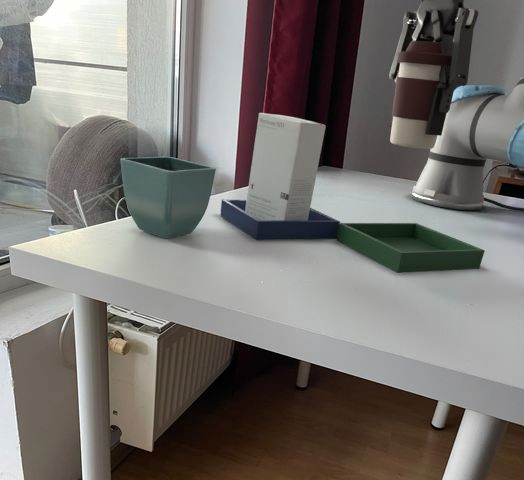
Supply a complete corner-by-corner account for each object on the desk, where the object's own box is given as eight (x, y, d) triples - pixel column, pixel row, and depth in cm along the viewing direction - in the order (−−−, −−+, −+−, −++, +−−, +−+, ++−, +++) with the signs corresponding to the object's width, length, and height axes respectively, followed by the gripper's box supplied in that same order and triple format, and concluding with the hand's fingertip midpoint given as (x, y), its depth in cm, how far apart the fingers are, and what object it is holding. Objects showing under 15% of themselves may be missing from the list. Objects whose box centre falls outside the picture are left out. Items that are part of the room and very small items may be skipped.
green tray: (412, 239, 86) (416, 222, 85) (479, 268, 75) (485, 250, 74) (336, 240, 80) (339, 222, 79) (397, 272, 69) (402, 252, 68)
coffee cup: (436, 146, 96) (458, 48, 89) (447, 153, 87) (473, 45, 81) (379, 139, 97) (397, 41, 90) (384, 145, 88) (405, 37, 81)
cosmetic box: (243, 218, 84) (253, 112, 77) (269, 214, 88) (281, 113, 81) (285, 232, 79) (300, 120, 72) (311, 227, 83) (327, 121, 77)
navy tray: (294, 216, 92) (296, 200, 90) (337, 239, 81) (340, 221, 80) (220, 216, 86) (221, 199, 85) (256, 240, 75) (258, 221, 74)
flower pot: (212, 235, 75) (218, 167, 71) (168, 246, 68) (171, 171, 64) (164, 221, 79) (167, 155, 75) (118, 229, 72) (118, 158, 68)
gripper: (385, -32, 87) (359, 122, 98) (485, -49, 71) (441, 139, 81) (421, -24, 91) (393, 124, 101) (525, -38, 74) (478, 141, 84)
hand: (414, 131), depth 91 cm, fingers closed on coffee cup, 8 cm apart
